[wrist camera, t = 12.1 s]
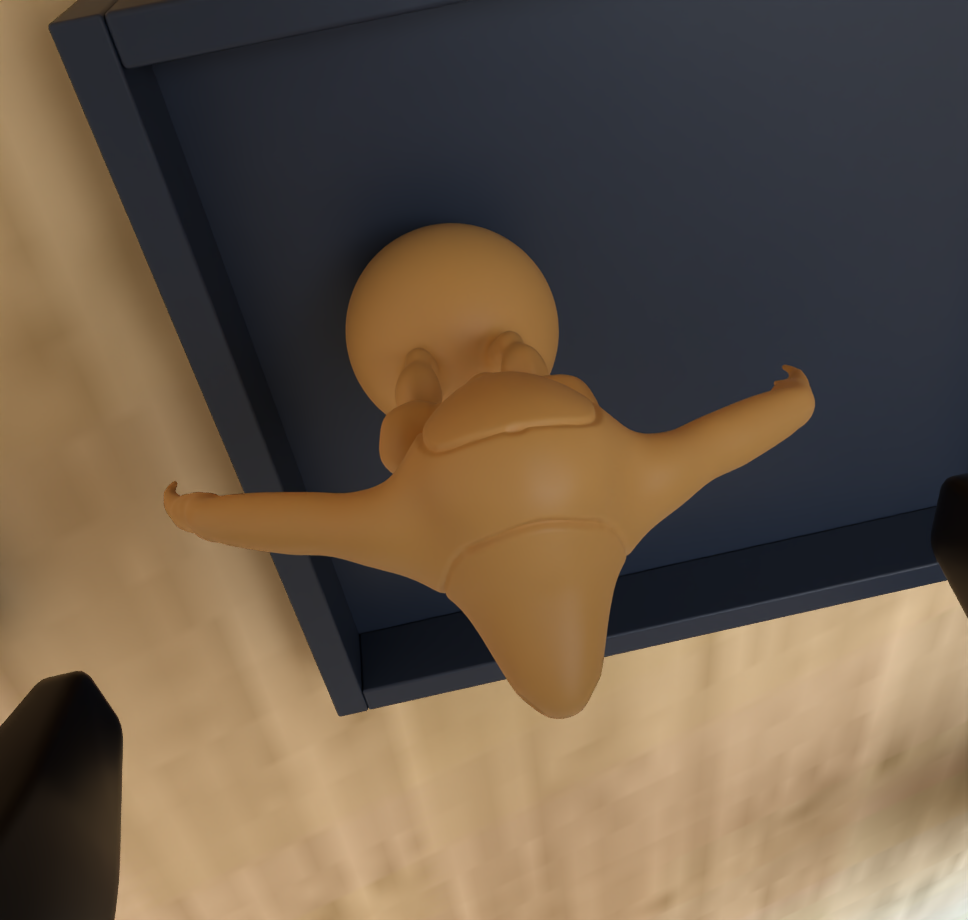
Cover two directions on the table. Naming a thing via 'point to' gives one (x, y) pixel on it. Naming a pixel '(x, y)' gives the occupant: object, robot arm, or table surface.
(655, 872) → the table surface
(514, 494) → the figurine
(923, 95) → the tray
